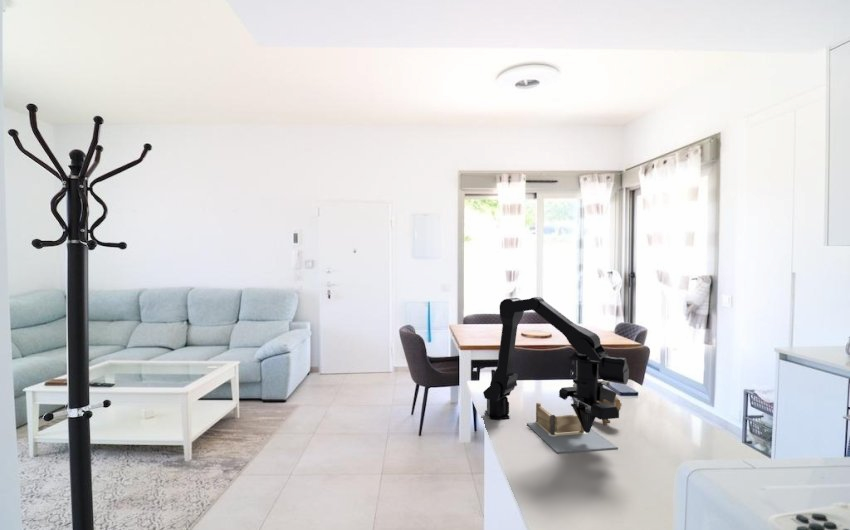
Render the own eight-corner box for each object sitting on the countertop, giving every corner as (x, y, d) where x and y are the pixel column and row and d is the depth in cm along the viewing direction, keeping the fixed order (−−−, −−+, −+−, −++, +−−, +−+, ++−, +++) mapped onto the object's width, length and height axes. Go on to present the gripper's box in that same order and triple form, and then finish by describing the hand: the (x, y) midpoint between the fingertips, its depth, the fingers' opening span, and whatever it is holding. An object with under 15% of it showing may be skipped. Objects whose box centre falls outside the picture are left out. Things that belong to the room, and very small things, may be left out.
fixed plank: (551, 436, 111) (551, 416, 111) (535, 422, 122) (535, 403, 122) (555, 436, 111) (556, 415, 111) (539, 421, 122) (539, 402, 122)
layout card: (557, 453, 101) (557, 451, 101) (526, 423, 120) (526, 422, 120) (618, 448, 104) (618, 447, 104) (578, 420, 123) (578, 419, 123)
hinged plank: (557, 434, 111) (557, 415, 111) (554, 432, 113) (554, 413, 113) (584, 432, 113) (585, 413, 113) (582, 430, 115) (582, 411, 115)
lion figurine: (624, 425, 120) (624, 396, 120) (616, 429, 117) (616, 400, 117) (581, 410, 132) (581, 384, 132) (572, 414, 129) (573, 387, 129)
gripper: (636, 385, 101) (636, 443, 101) (589, 367, 119) (589, 417, 119) (600, 387, 98) (600, 448, 98) (558, 369, 116) (558, 420, 116)
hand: (586, 432), depth 108 cm, fingers closed
